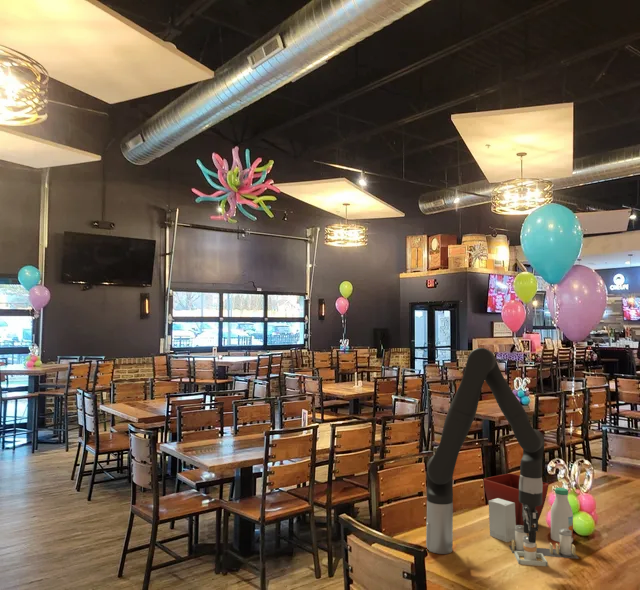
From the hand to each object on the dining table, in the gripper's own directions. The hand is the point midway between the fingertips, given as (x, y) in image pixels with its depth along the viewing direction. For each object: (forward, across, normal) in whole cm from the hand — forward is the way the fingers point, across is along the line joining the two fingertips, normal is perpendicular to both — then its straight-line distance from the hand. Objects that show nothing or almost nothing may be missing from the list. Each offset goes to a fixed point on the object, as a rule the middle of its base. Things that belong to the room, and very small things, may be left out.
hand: (529, 537), depth 189 cm
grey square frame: (+9, 0, +1) cm, 9 cm away
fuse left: (+8, -9, -1) cm, 12 cm away
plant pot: (+9, -43, +3) cm, 45 cm away
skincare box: (+10, -20, -6) cm, 23 cm away
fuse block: (+9, -9, +6) cm, 14 cm away
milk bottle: (+9, -24, +16) cm, 30 cm away
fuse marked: (+8, 0, +1) cm, 8 cm away
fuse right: (+7, -9, +14) cm, 18 cm away
